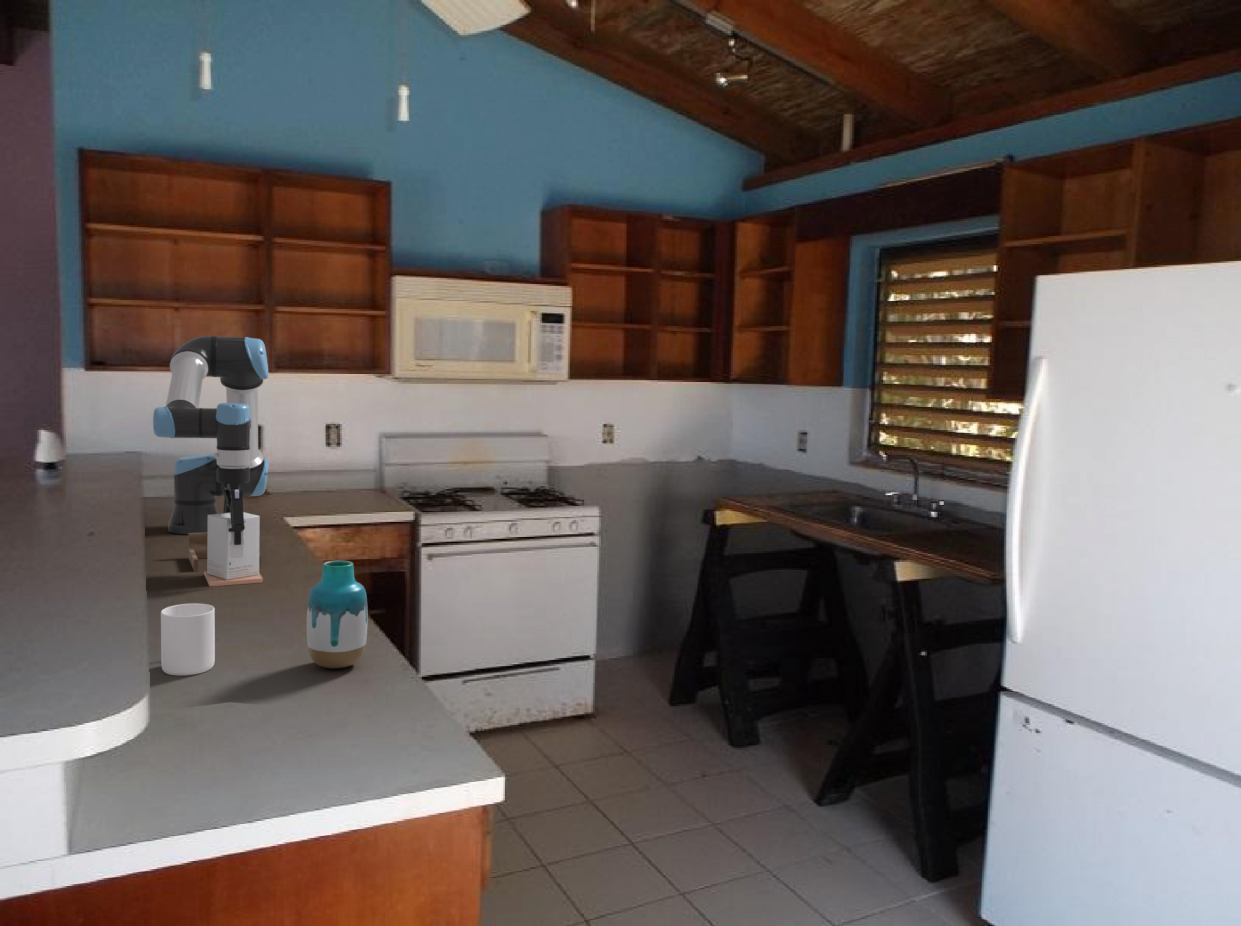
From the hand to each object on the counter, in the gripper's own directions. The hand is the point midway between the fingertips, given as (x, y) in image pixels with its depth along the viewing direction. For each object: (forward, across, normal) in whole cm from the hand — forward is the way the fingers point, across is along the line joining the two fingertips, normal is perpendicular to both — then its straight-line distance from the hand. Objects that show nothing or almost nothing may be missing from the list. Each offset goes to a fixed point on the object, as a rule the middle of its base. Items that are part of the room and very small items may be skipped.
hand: (233, 552), depth 225 cm
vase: (+7, +73, +9) cm, 74 cm away
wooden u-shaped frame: (+7, -19, 0) cm, 20 cm away
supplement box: (+6, 0, 0) cm, 6 cm away
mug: (+7, +63, -15) cm, 65 cm away
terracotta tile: (+7, 0, 0) cm, 7 cm away
